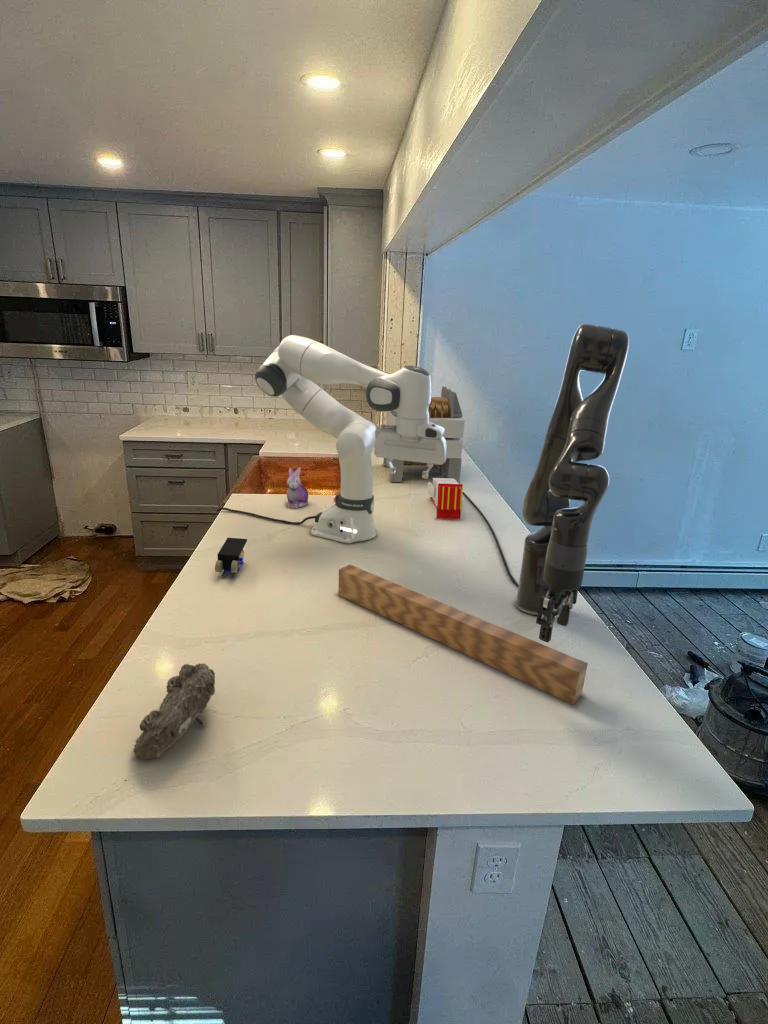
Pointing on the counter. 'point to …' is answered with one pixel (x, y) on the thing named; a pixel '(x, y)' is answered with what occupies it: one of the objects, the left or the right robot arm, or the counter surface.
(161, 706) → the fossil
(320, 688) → the counter surface
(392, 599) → the post
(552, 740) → the counter surface
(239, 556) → the figurine character
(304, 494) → the figurine
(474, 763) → the counter surface
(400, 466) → the transformer
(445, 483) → the toy
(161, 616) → the counter surface
